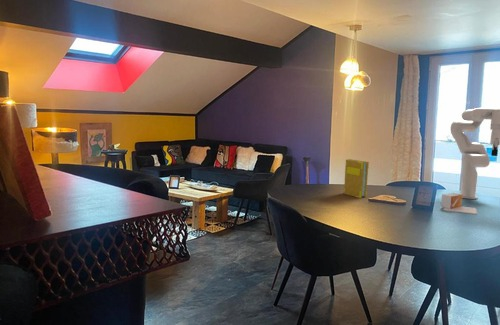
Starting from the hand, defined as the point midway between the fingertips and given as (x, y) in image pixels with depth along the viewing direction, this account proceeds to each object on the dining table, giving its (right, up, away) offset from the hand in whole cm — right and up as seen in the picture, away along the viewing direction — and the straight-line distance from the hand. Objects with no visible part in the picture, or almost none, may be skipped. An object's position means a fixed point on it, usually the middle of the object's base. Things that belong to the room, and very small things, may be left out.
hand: (494, 155), depth 250 cm
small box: (-25, -28, -2) cm, 38 cm away
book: (-84, -28, +26) cm, 93 cm away
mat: (-28, -34, -10) cm, 45 cm away
